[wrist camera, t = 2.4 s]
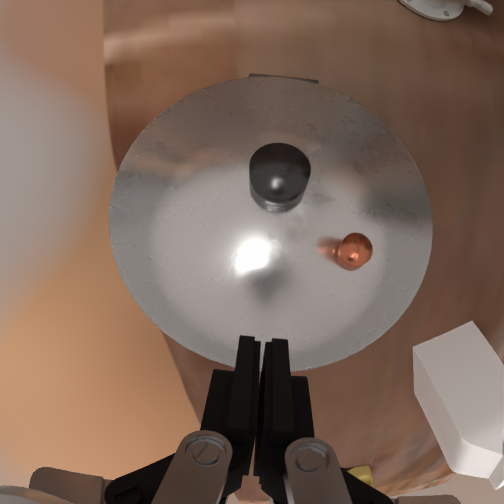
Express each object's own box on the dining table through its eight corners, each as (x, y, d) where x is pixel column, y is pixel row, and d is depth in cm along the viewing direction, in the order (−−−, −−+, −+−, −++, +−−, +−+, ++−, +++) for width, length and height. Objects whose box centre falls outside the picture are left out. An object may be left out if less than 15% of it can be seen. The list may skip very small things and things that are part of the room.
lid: (400, 104, 20) (413, 78, 17) (428, 371, 14) (458, 372, 11) (161, 80, 21) (154, 52, 18) (87, 341, 15) (58, 337, 12)
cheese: (327, 468, 55) (331, 504, 46) (372, 463, 54) (378, 496, 45) (322, 485, 59) (324, 516, 50) (362, 480, 58) (367, 510, 49)
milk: (412, 347, 41) (477, 487, 16) (472, 320, 38) (554, 436, 14) (413, 392, 44) (457, 513, 20) (467, 368, 42) (524, 474, 18)
